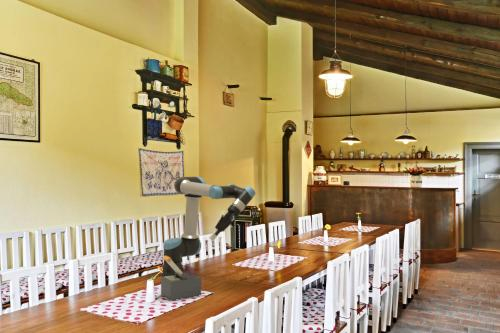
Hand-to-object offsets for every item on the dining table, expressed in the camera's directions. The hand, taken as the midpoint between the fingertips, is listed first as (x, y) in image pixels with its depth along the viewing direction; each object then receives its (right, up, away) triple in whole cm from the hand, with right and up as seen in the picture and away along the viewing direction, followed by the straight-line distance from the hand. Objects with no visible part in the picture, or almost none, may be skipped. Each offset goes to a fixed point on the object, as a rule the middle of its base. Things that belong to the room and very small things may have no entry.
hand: (211, 239), depth 256 cm
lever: (-16, -18, -10) cm, 26 cm away
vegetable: (-13, -30, +12) cm, 35 cm away
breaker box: (-16, -29, -10) cm, 35 cm away
